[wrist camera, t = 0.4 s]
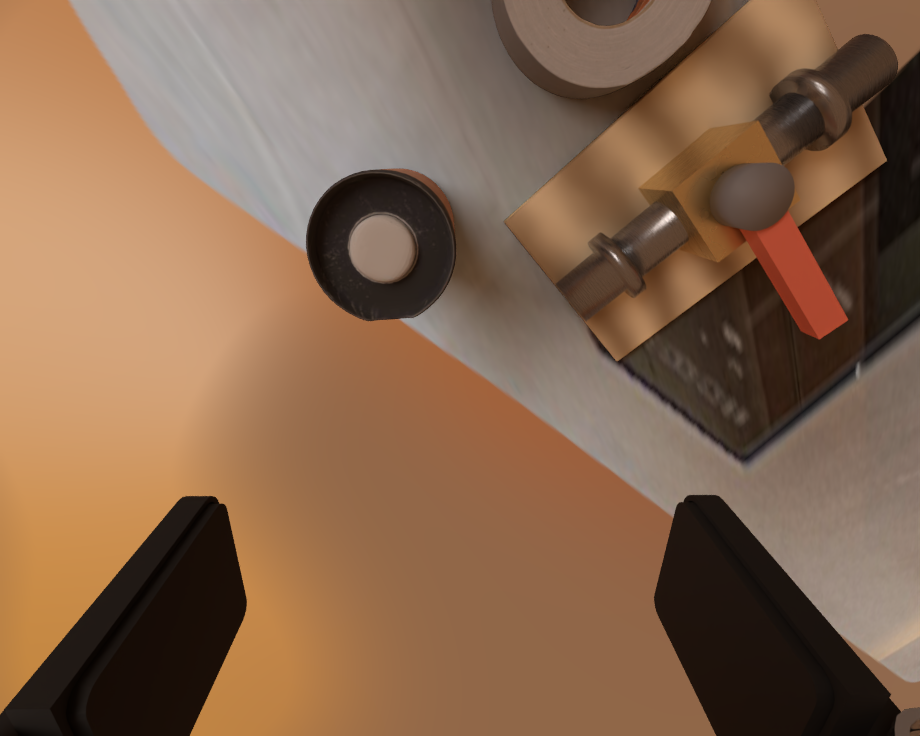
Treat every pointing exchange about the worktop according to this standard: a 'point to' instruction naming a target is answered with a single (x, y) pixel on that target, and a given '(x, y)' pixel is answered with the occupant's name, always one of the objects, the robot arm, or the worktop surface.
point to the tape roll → (592, 43)
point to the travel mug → (382, 243)
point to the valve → (718, 149)
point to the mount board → (665, 136)
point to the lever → (777, 241)
